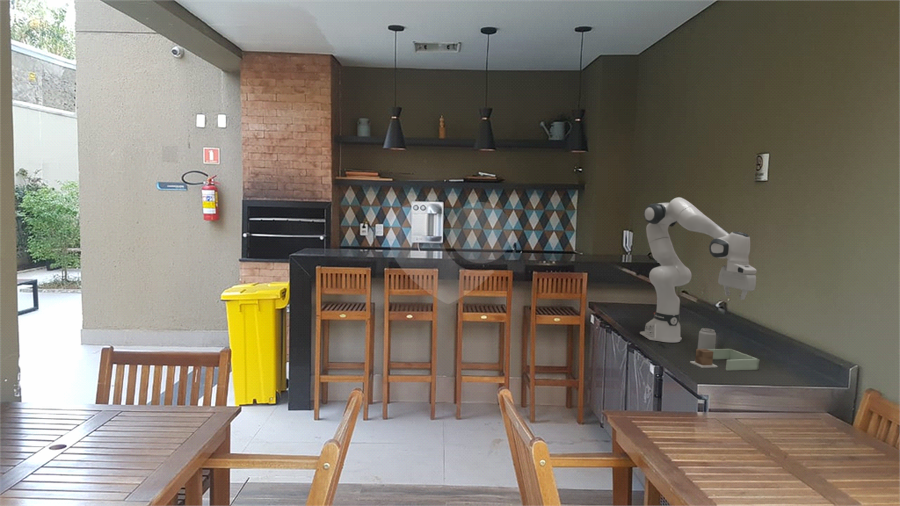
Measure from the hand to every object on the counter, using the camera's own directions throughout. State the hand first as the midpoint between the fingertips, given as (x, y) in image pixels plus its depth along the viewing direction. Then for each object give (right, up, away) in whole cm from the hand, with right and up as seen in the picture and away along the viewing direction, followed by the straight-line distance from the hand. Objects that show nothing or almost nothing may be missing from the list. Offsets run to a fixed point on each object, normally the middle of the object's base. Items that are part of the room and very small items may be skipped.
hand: (734, 297), depth 269 cm
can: (-8, -28, +11) cm, 31 cm away
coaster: (-18, -29, -8) cm, 35 cm away
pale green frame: (-5, -30, -5) cm, 31 cm away
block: (-18, -29, -8) cm, 35 cm away
